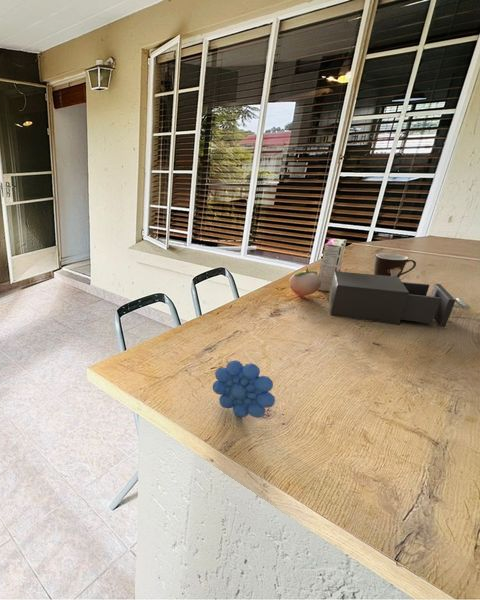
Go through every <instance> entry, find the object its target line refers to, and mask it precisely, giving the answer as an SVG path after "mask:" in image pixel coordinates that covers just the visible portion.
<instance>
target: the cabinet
mask: <svg viewBox="0 0 480 600" xmlns="http://www.w3.org/2000/svg"><path fill="white" fill-rule="evenodd" d="M402 282H403V281H402V280H401V278H400V277H394V276H383V275H374V274H370V273H359V272H350V271H349V272H346V271H340V272H338V271H335V273H334V277H333V281H332V286H331V290H330V292H329V294H328V306H329V307H328V308H329V314H330V316H331V317H339V318H347V319H352V320H353V319H354V320H361V321H366V322H367V321H368V322H373V323H374V322H375V323H381V324H388V325H395V326H400V323H401V317H402V314H403V311H404V307H405V304H406V301H407V298H408V295H409V292H408V290H407V289H406V287H405V286H404V284H403V283H402Z"/></svg>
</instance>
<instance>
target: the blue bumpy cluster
mask: <svg viewBox="0 0 480 600" xmlns="http://www.w3.org/2000/svg"><path fill="white" fill-rule="evenodd" d="M260 374H261V370H260V367H259V366H258V365H257V364H255V363H252V362H251V363H246V364H245V365H243V364H242V362H240V361H239V360H235V359H234V360H230V361H228V362H227V364H226V367H218V368H217V369H216V370H215V372H214V376H215V379H216V380H215V381H214V382H213V384H212V391H213V392H214V393H215V394H216V395H219V399H218V401H219V405H220V406H221V407H222V408H224V409H232V413H233V415H235V417H237V418H241V419H242V418H243V419H244V418H247V417H248V416H251V418H252V417H253V418H255V419H258V418H259V419H260V418H262V417H264V416H265V413H266V409H267V408H269V409H270V408H272V407H274V405H275V402H276V398H275V395H273V394H272V393H271V392H270V391H271V390H272V389H273V386H274V382H273V380H272V379H271V378H270V377H269V376H267V375H260Z"/></svg>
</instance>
